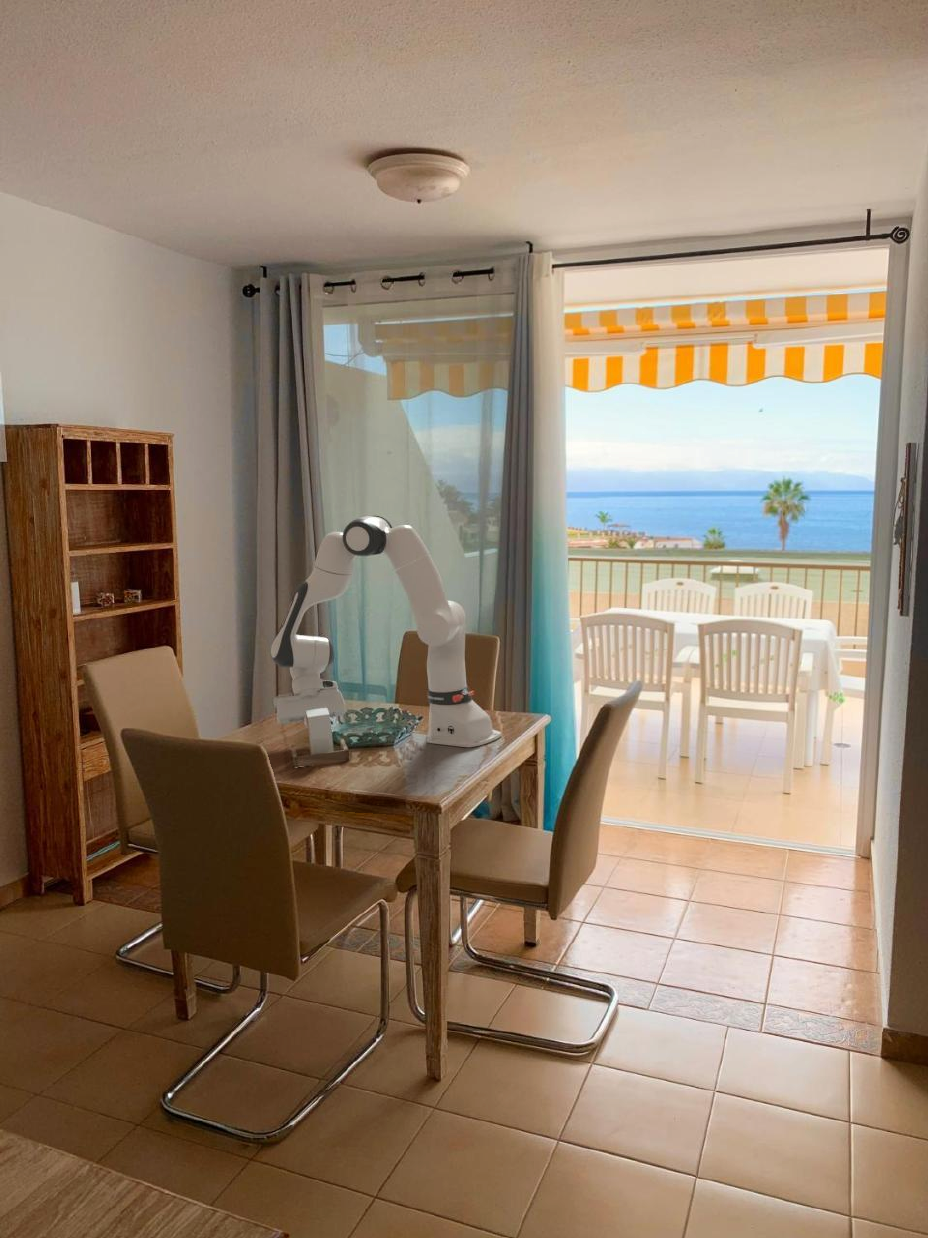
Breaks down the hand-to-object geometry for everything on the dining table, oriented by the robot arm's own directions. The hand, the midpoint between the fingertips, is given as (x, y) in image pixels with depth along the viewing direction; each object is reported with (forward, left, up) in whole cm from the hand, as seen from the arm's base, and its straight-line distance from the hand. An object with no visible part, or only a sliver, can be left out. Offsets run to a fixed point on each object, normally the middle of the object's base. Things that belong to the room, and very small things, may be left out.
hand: (314, 731), depth 280 cm
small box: (-9, +4, -5) cm, 11 cm away
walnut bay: (-10, +6, -5) cm, 12 cm away
